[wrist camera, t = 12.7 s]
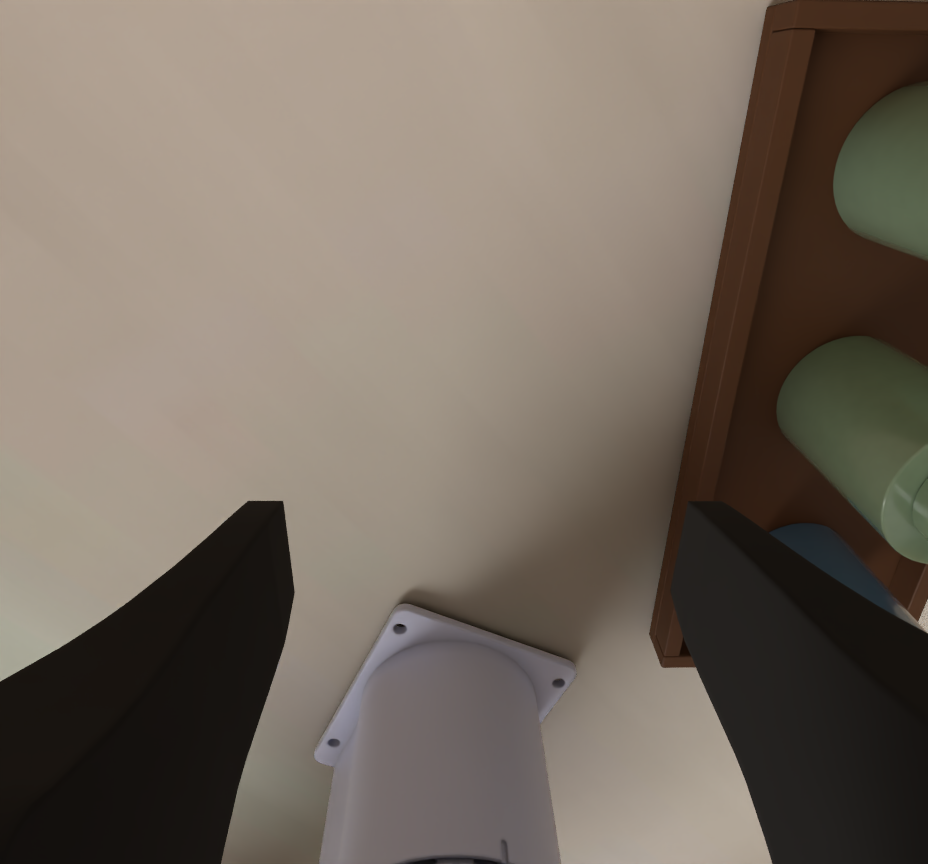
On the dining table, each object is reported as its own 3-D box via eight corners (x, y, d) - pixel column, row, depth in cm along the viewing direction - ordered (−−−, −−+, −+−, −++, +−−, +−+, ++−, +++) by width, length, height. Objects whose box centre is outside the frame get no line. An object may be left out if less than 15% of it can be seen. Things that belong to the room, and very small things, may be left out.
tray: (873, 632, 27) (900, 666, 26) (648, 634, 27) (661, 668, 26) (1112, 14, 18) (1179, 7, 16) (765, 6, 17) (798, -2, 16)
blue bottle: (832, 612, 26) (1004, 845, 18) (724, 612, 26) (850, 848, 18) (863, 522, 24) (1071, 738, 16) (747, 522, 24) (899, 740, 16)
